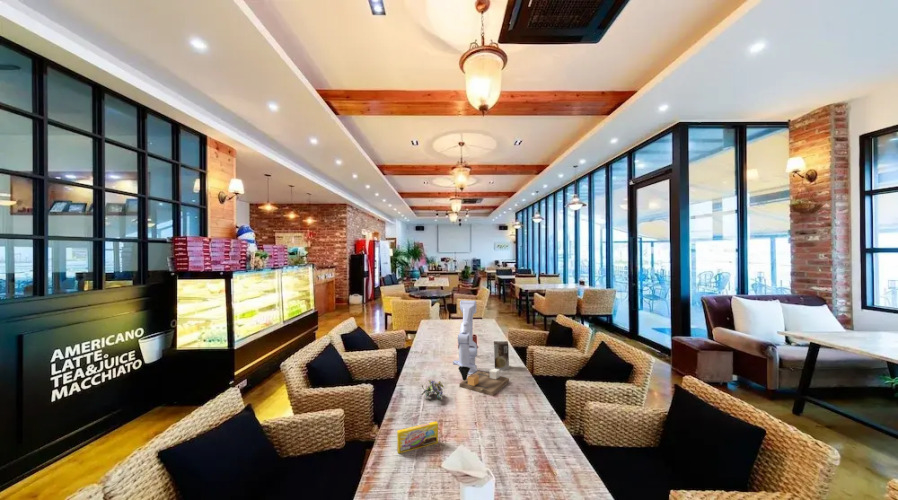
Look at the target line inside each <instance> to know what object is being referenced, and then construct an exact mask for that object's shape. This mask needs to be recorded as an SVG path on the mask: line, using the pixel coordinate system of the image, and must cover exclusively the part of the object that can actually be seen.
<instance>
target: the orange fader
mask: <svg viewBox="0 0 898 500" xmlns="http://www.w3.org/2000/svg"><path fill="white" fill-rule="evenodd" d="M467 378H468V385H472V386H475V385H476V384H478V383H479V375H475V373H473V374H469V376H468V375H467Z"/></svg>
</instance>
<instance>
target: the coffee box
mask: <svg viewBox="0 0 898 500" xmlns="http://www.w3.org/2000/svg"><path fill="white" fill-rule="evenodd" d="M509 355H510V351H509V342H508V341H507V340H505V341H504V340H501V341H500V340H499V341H498V340H496V341H493V359H494V360H493V362H494V363H493V364H494V365H493V366H494V368H495V369H500V370H510V357H509Z"/></svg>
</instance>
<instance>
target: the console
mask: <svg viewBox="0 0 898 500" xmlns="http://www.w3.org/2000/svg"><path fill="white" fill-rule="evenodd" d="M474 374H475V375H479V383H478V384H476V385H475V386H472V385H468V377H467V379H466V380H462V381H460V382H459V388H463V389H466V390H468V391H469V390H470V391H473V392H477V393H480V394H483V395H488V396H491V397H493V396H494V395H495V394H497V392H499V391H500V390H501V389H502V388H504V387H505V386H506V385H507V384H509V383H510V377H505V376H501V375H500V377H499V378H497V379H492V378H490V372H489V373H488V372H486V371H480V370H478V371H476V372H475V373H474Z"/></svg>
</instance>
